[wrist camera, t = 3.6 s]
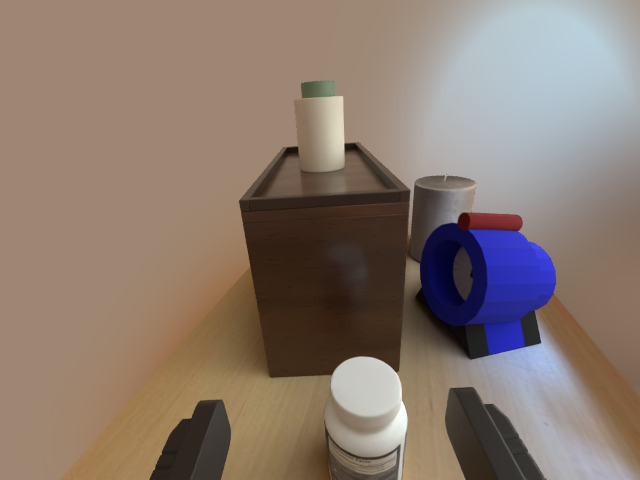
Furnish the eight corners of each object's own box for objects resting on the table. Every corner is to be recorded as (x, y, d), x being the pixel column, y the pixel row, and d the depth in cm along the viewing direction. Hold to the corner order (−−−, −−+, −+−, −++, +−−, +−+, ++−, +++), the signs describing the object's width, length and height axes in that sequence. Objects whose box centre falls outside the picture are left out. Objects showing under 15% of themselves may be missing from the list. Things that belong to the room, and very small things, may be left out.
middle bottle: (331, 173, 37) (327, 79, 32) (291, 171, 39) (282, 84, 35) (352, 164, 41) (350, 80, 37) (314, 162, 44) (309, 84, 40)
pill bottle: (347, 424, 27) (344, 340, 23) (411, 456, 25) (420, 366, 21) (315, 488, 23) (305, 398, 19) (388, 535, 20) (394, 441, 16)
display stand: (399, 371, 32) (410, 190, 24) (270, 377, 33) (238, 200, 25) (359, 241, 63) (359, 142, 55) (293, 244, 64) (283, 147, 56)
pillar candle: (441, 240, 61) (450, 166, 55) (477, 261, 53) (492, 176, 47) (399, 248, 59) (403, 172, 53) (429, 272, 50) (439, 184, 44)
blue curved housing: (411, 298, 44) (418, 200, 38) (485, 284, 46) (503, 189, 40) (464, 361, 33) (487, 236, 27) (558, 339, 35) (598, 218, 29)
